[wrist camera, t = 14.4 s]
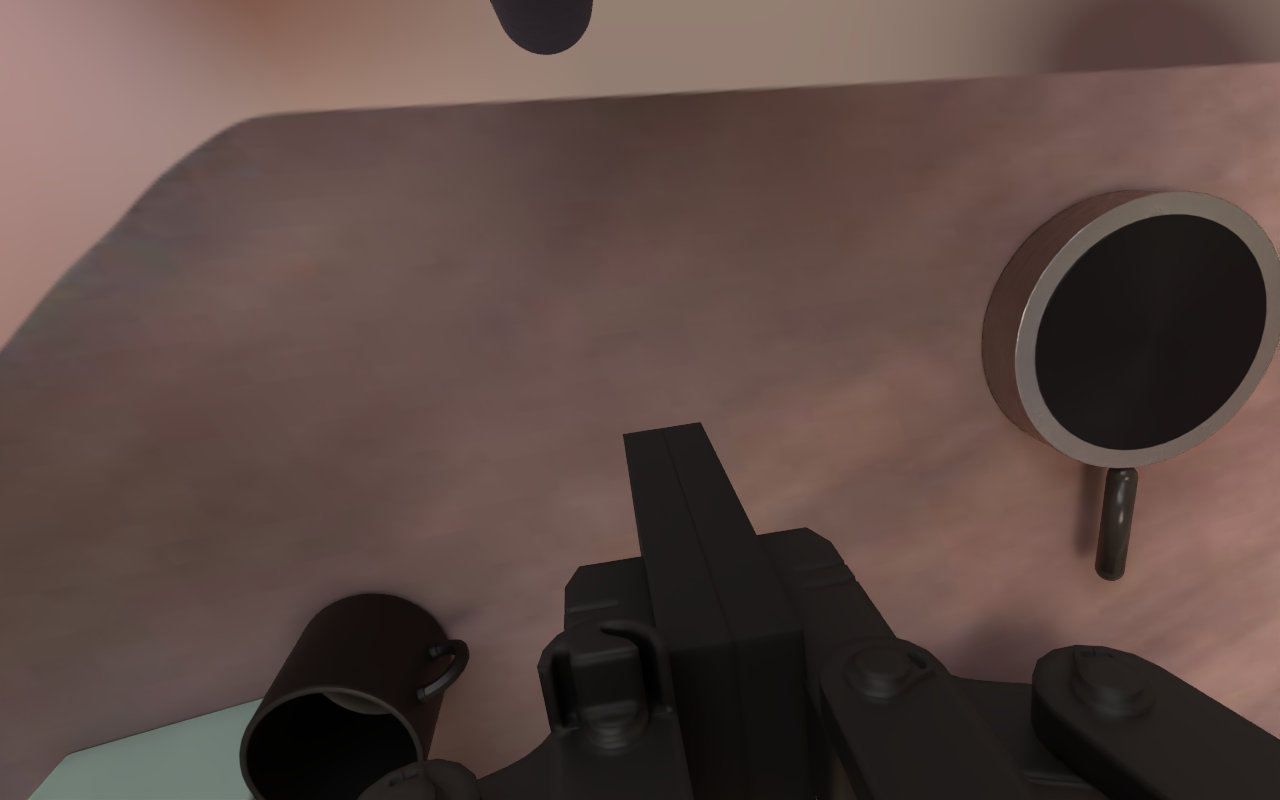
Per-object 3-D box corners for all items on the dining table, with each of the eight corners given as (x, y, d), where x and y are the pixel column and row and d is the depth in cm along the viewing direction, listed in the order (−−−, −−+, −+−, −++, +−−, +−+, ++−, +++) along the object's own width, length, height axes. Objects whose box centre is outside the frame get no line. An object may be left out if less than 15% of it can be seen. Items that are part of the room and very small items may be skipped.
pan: (991, 200, 42) (1029, 202, 38) (1253, 180, 43) (1313, 180, 39) (965, 570, 49) (995, 599, 45) (1190, 544, 50) (1236, 571, 46)
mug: (512, 664, 48) (499, 770, 39) (350, 737, 48) (302, 859, 39) (441, 549, 45) (410, 637, 36) (270, 628, 45) (199, 734, 37)
